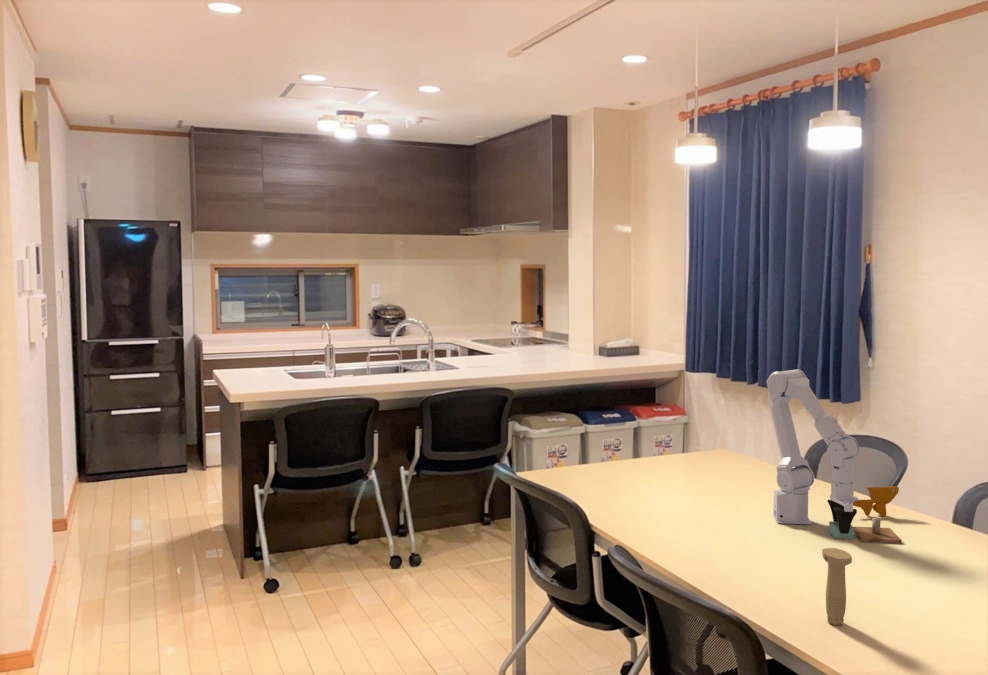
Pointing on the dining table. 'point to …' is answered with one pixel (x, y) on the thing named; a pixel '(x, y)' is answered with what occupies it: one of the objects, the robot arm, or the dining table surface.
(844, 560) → the handle
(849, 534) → the collar
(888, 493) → the toy
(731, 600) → the dining table surface
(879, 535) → the post block
